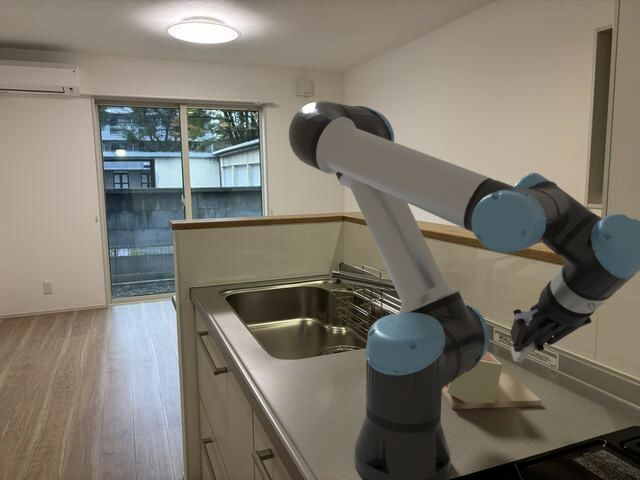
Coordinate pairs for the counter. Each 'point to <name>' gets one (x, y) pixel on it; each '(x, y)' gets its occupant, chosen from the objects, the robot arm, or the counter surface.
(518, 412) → the counter surface
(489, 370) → the milk carton
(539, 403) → the board
